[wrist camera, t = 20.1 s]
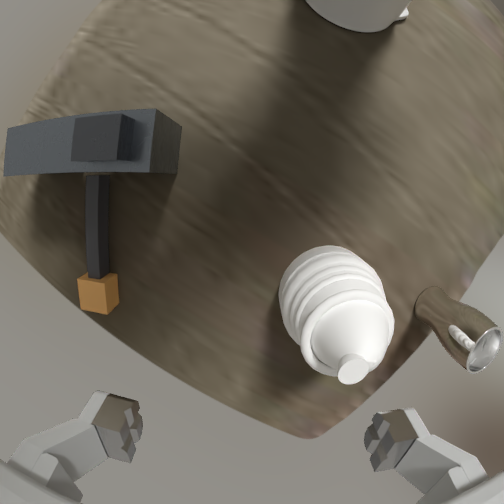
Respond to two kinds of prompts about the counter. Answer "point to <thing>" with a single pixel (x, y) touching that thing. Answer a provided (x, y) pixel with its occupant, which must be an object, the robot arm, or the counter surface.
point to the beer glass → (460, 329)
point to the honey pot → (336, 312)
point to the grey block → (95, 144)
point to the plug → (97, 250)
